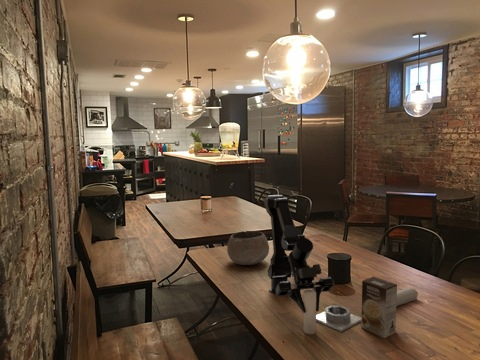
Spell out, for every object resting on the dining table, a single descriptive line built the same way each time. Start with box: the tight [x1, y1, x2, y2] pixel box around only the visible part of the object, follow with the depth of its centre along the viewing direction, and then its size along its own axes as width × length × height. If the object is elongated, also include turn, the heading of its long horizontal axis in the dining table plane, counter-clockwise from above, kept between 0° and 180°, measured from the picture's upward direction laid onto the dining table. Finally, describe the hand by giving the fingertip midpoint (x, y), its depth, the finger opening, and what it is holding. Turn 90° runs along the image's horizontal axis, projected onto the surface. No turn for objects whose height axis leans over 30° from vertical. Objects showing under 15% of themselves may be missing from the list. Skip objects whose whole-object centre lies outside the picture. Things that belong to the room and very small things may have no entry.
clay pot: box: [226, 230, 270, 266], centre depth 197 cm, size 21×21×15 cm
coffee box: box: [360, 276, 398, 339], centre depth 127 cm, size 9×6×16 cm
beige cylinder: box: [302, 289, 317, 335], centre depth 127 cm, size 4×4×13 cm
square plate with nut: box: [316, 305, 362, 333], centre depth 135 cm, size 12×12×3 cm
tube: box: [396, 287, 419, 307], centre depth 145 cm, size 5×5×25 cm
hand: (311, 311), depth 126 cm, fingers closed on beige cylinder, 4 cm apart
